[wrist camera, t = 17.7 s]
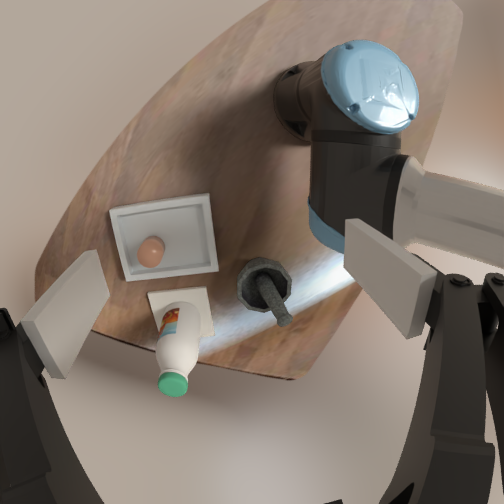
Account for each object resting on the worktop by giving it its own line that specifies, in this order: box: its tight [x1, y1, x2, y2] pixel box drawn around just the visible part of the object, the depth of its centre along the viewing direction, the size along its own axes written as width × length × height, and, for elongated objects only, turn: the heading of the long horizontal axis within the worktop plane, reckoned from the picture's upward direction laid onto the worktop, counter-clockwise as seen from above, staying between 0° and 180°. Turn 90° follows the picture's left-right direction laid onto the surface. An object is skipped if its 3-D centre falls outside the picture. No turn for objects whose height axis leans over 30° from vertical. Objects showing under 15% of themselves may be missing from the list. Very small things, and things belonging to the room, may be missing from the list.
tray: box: [109, 193, 219, 282], centre depth 50 cm, size 18×14×2 cm
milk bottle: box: [156, 301, 201, 397], centre depth 47 cm, size 8×8×20 cm
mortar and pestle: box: [237, 257, 293, 327], centre depth 51 cm, size 11×9×12 cm
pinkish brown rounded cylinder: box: [137, 236, 165, 268], centre depth 48 cm, size 4×4×5 cm
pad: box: [148, 286, 215, 337], centre depth 57 cm, size 12×12×1 cm
